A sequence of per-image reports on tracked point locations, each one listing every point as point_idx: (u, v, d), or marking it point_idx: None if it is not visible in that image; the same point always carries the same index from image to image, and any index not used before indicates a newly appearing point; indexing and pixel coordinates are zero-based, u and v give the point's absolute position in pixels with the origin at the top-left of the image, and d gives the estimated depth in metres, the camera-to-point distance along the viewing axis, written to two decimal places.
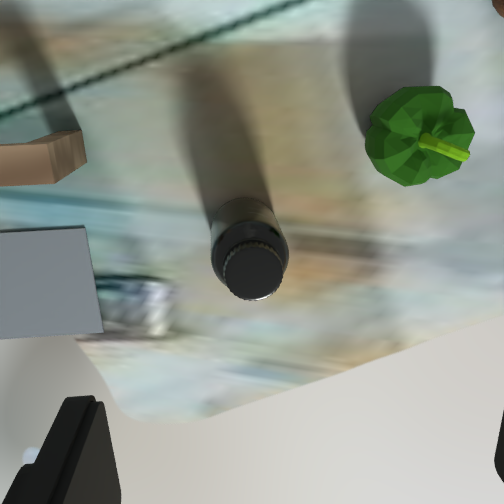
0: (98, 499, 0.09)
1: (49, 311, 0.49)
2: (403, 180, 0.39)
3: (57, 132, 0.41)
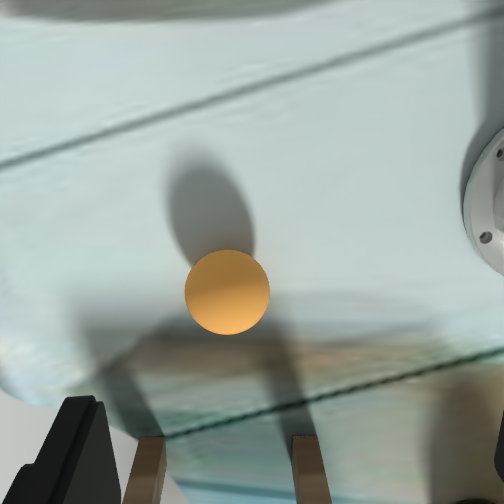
0: (98, 499, 0.09)
1: None
2: None
3: (297, 447, 0.37)
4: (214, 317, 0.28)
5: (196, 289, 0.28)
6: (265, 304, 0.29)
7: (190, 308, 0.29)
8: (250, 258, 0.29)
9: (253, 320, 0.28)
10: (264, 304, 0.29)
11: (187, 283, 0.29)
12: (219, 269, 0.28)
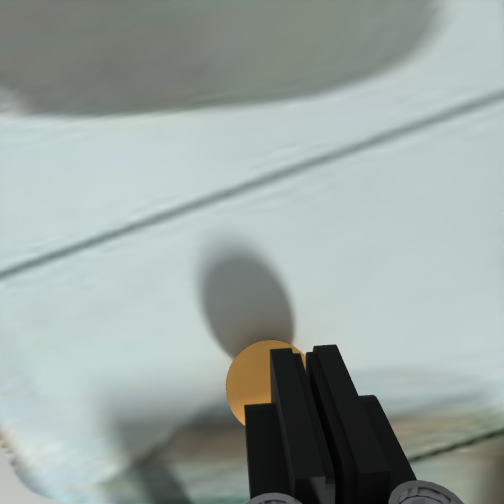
0: None
1: None
2: None
3: None
4: None
5: (240, 393, 0.26)
6: None
7: (234, 411, 0.27)
8: (294, 351, 0.27)
9: None
10: None
11: (229, 383, 0.27)
12: (265, 371, 0.26)
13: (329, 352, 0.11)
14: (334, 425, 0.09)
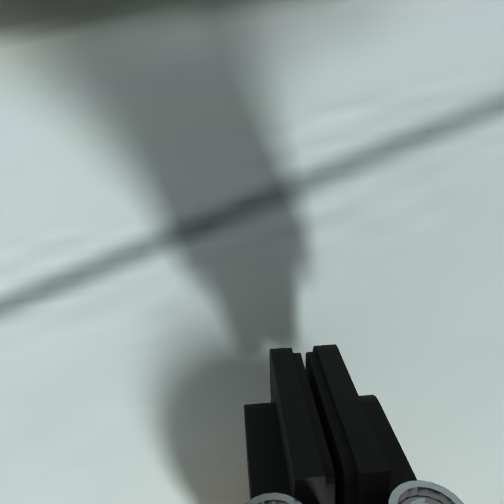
0: None
1: None
2: None
3: None
4: None
5: None
6: None
7: None
8: None
9: None
10: None
11: None
12: None
13: (329, 352, 0.11)
14: (334, 425, 0.09)
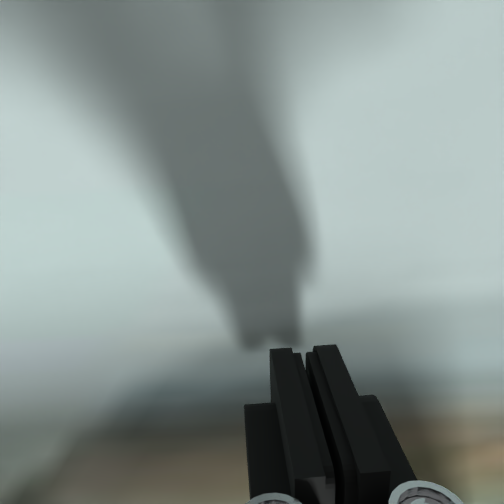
0: None
1: None
2: None
3: None
4: None
5: None
6: None
7: None
8: None
9: None
10: None
11: None
12: None
13: (329, 352, 0.11)
14: (334, 425, 0.09)
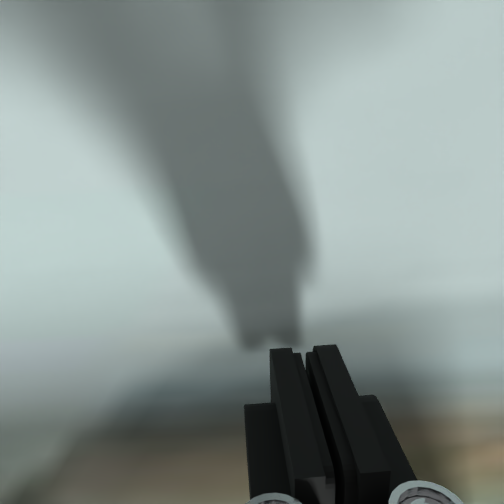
0: None
1: None
2: None
3: None
4: None
5: None
6: None
7: None
8: None
9: None
10: None
11: None
12: None
13: (329, 352, 0.11)
14: (334, 425, 0.09)
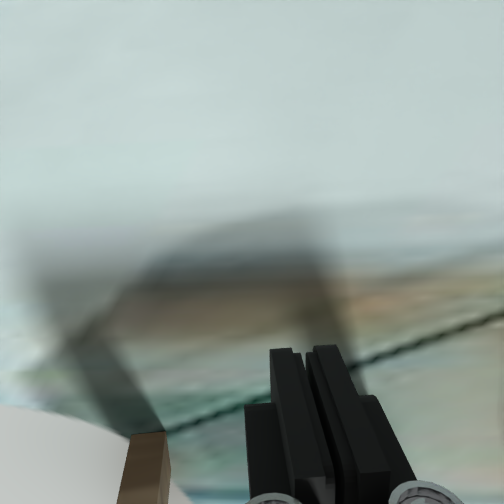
0: None
1: None
2: None
3: None
4: None
5: None
6: None
7: None
8: None
9: None
10: None
11: None
12: None
13: (329, 352, 0.11)
14: (334, 425, 0.09)
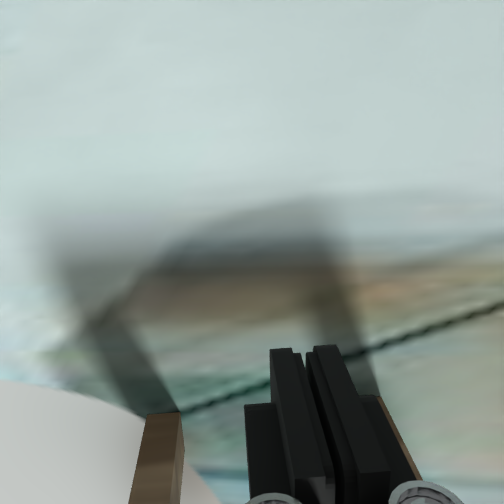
0: None
1: None
2: None
3: None
4: None
5: None
6: None
7: None
8: None
9: None
10: None
11: None
12: None
13: (329, 352, 0.11)
14: (334, 425, 0.09)
